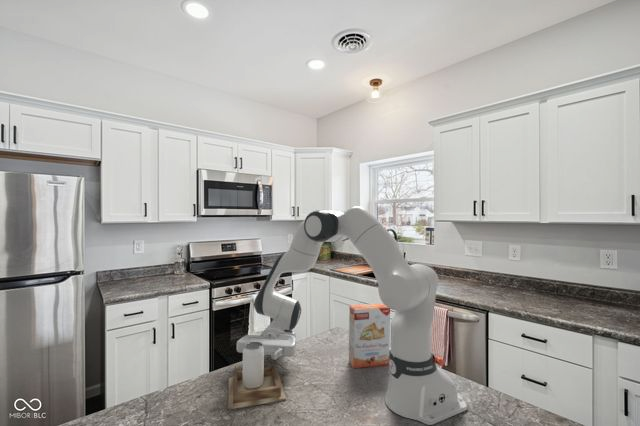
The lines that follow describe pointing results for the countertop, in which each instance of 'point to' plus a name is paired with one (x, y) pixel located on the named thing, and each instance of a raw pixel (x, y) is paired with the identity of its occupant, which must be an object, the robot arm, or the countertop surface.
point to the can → (253, 365)
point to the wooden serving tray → (255, 390)
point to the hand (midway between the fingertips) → (259, 355)
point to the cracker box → (369, 335)
